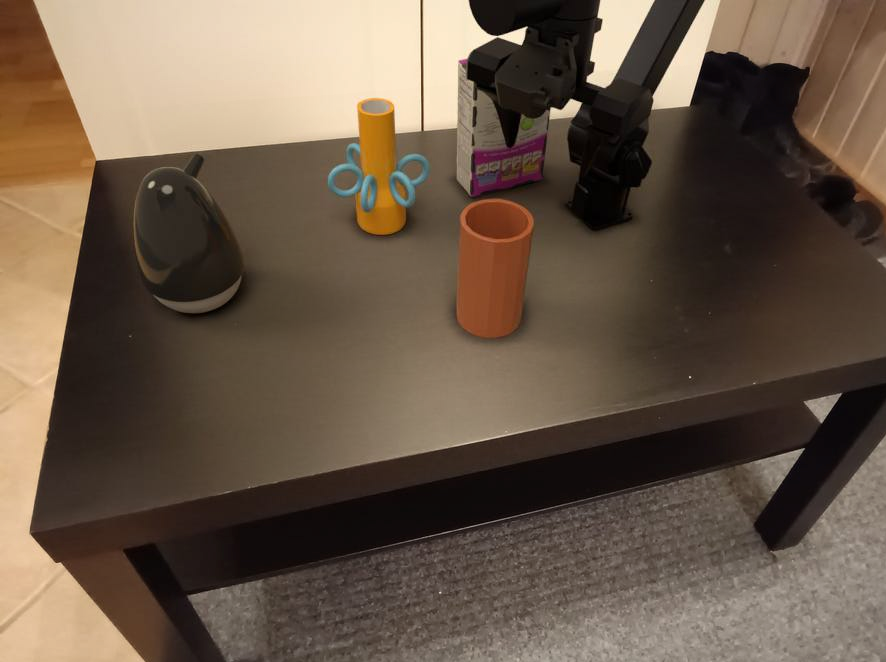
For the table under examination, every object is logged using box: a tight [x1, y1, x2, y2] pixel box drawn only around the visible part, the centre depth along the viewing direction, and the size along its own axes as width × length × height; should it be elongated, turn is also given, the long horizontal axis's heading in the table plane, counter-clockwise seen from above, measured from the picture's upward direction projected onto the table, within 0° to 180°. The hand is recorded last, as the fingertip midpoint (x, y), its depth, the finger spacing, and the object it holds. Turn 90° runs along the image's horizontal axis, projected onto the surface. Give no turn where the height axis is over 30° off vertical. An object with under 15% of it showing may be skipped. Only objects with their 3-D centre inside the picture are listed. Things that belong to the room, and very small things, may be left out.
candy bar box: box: [456, 58, 552, 198], centre depth 89 cm, size 11×5×16 cm, turn 117°
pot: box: [455, 198, 535, 339], centre depth 71 cm, size 7×7×12 cm
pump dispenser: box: [132, 153, 245, 314], centre depth 70 cm, size 10×10×15 cm
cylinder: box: [327, 97, 431, 236], centre depth 81 cm, size 12×10×15 cm
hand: (546, 160), depth 76 cm, fingers open, 9 cm apart
